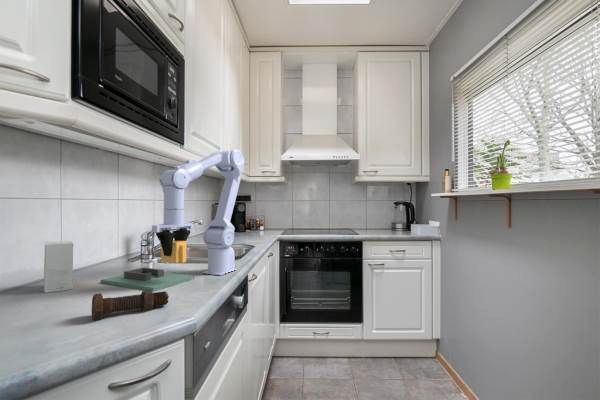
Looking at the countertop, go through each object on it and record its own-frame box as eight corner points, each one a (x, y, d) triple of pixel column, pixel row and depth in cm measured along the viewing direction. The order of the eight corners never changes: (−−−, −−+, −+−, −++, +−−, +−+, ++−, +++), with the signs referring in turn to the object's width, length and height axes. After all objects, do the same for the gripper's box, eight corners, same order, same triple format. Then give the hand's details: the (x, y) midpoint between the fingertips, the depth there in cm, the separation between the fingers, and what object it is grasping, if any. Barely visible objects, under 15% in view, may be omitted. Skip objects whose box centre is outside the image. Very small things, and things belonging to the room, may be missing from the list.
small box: (72, 289, 89) (73, 243, 90) (43, 293, 85) (44, 244, 86) (70, 283, 96) (71, 240, 96) (43, 287, 92) (44, 242, 92)
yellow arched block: (171, 259, 99) (171, 240, 99) (188, 261, 96) (189, 241, 96) (160, 261, 95) (161, 241, 95) (179, 263, 92) (179, 242, 92)
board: (145, 272, 111) (145, 264, 111) (194, 278, 103) (194, 269, 103) (100, 283, 97) (100, 273, 97) (153, 291, 88) (153, 280, 88)
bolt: (167, 314, 75) (92, 327, 66) (162, 299, 79) (90, 309, 70) (172, 295, 73) (94, 306, 64) (167, 281, 77) (93, 289, 68)
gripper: (181, 209, 104) (180, 250, 104) (144, 209, 91) (143, 257, 91) (198, 209, 101) (198, 252, 101) (162, 210, 88) (162, 259, 88)
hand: (173, 254), depth 96 cm, fingers closed on yellow arched block, 4 cm apart
